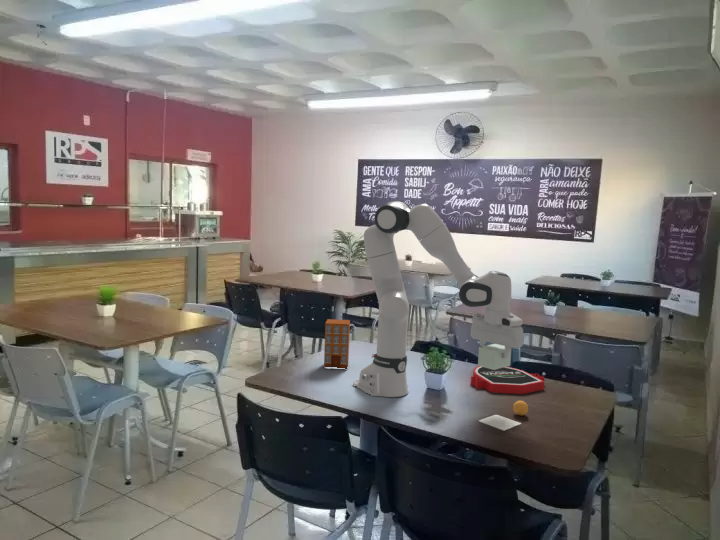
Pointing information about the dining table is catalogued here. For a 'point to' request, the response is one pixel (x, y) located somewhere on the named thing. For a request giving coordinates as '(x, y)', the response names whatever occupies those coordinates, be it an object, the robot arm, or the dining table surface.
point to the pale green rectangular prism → (493, 357)
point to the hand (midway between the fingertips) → (494, 355)
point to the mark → (499, 422)
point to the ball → (520, 408)
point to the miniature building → (336, 343)
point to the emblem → (506, 380)
